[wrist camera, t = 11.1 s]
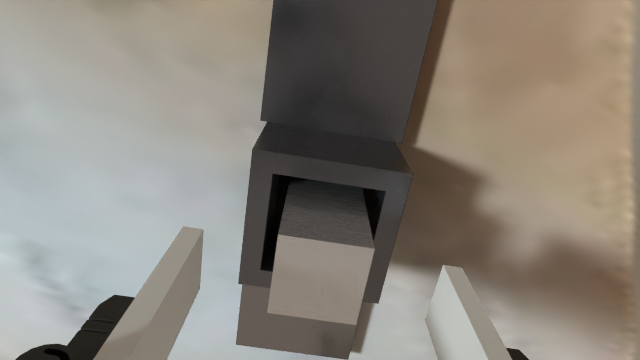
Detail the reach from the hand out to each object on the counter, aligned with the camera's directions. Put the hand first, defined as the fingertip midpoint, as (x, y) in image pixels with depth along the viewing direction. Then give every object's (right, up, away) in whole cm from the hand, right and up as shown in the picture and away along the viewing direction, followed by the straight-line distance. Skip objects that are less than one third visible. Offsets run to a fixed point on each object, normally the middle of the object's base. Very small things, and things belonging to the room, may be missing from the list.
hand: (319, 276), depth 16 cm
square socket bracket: (0, +4, +9) cm, 10 cm away
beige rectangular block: (0, +4, +9) cm, 10 cm away
